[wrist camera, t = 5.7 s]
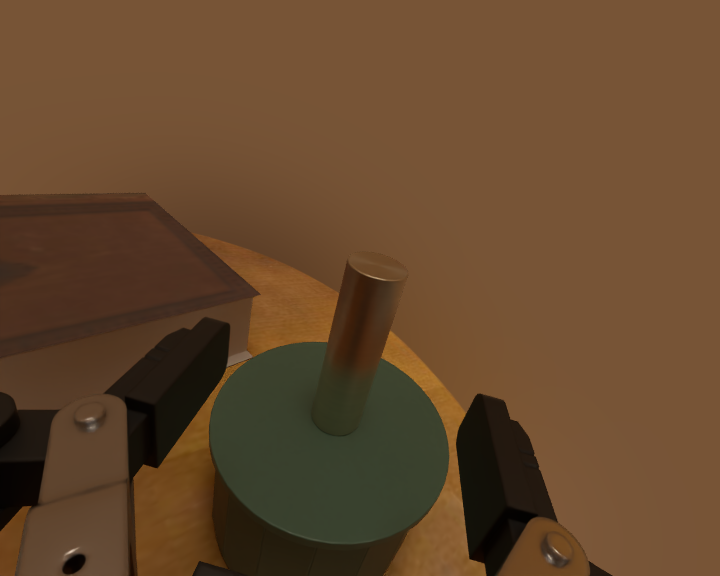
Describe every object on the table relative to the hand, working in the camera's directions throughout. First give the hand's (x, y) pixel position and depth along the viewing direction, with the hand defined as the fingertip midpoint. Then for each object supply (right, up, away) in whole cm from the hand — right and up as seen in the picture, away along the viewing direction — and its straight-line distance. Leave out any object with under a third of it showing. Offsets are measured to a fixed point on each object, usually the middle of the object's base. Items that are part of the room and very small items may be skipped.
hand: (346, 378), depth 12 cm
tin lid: (-1, -4, +8) cm, 9 cm away
